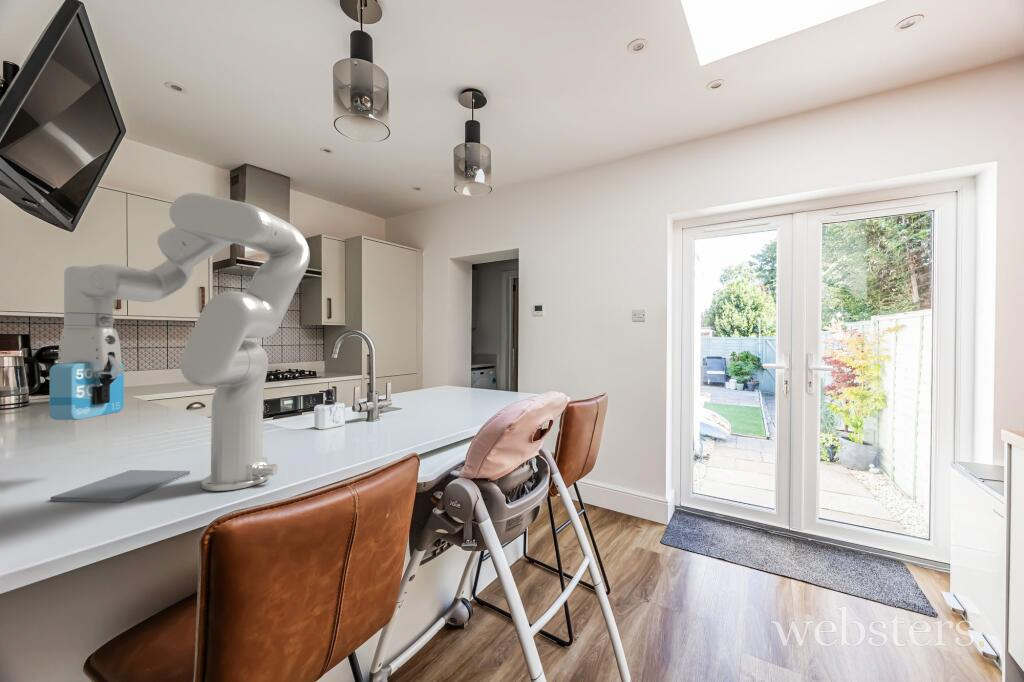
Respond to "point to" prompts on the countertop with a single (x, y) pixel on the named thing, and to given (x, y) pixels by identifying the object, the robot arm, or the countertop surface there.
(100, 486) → the grey mat
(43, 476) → the countertop surface
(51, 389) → the data package
